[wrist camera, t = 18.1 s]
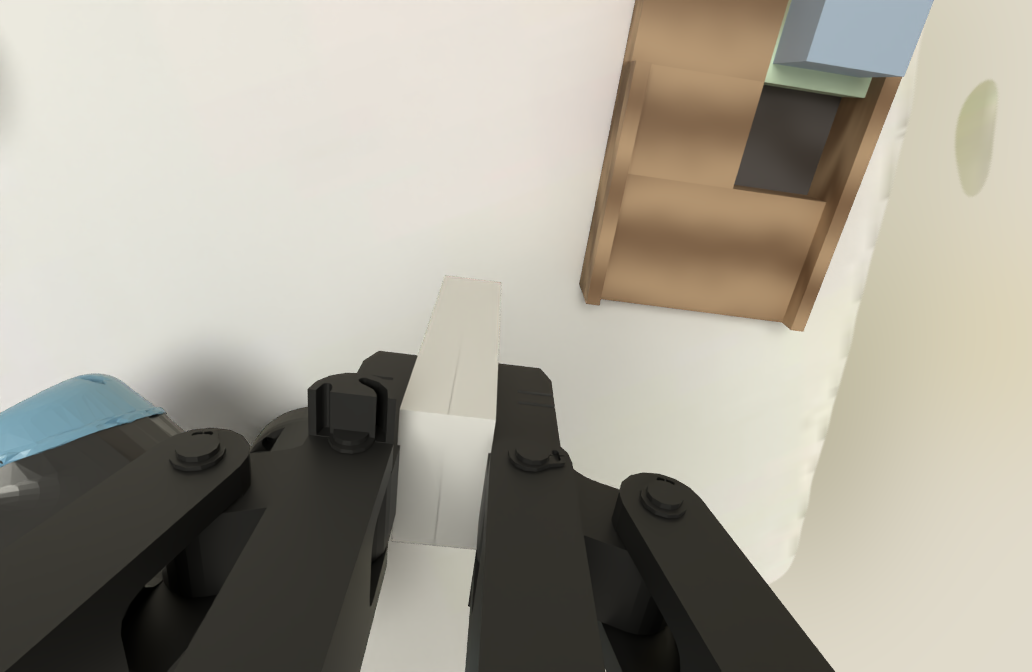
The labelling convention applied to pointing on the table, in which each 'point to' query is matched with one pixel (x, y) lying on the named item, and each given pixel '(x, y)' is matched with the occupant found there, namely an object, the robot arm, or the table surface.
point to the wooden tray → (726, 165)
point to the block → (852, 36)
